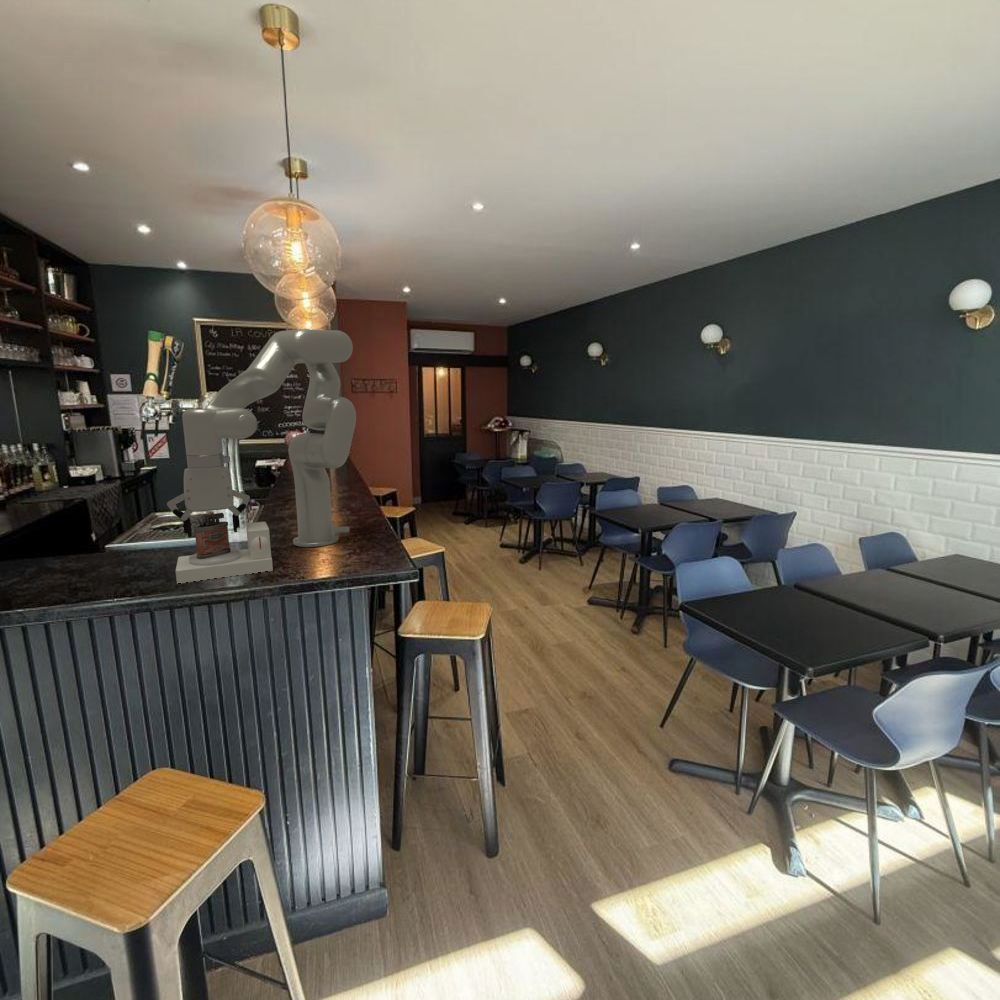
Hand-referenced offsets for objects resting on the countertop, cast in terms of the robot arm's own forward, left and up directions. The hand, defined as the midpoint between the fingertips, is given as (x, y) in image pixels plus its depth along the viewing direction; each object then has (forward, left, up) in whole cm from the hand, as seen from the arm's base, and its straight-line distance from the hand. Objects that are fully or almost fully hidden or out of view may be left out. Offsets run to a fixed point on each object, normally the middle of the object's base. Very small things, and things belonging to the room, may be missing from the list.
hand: (213, 533), depth 128 cm
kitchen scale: (-2, 0, -9) cm, 10 cm away
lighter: (0, 0, -6) cm, 6 cm away
